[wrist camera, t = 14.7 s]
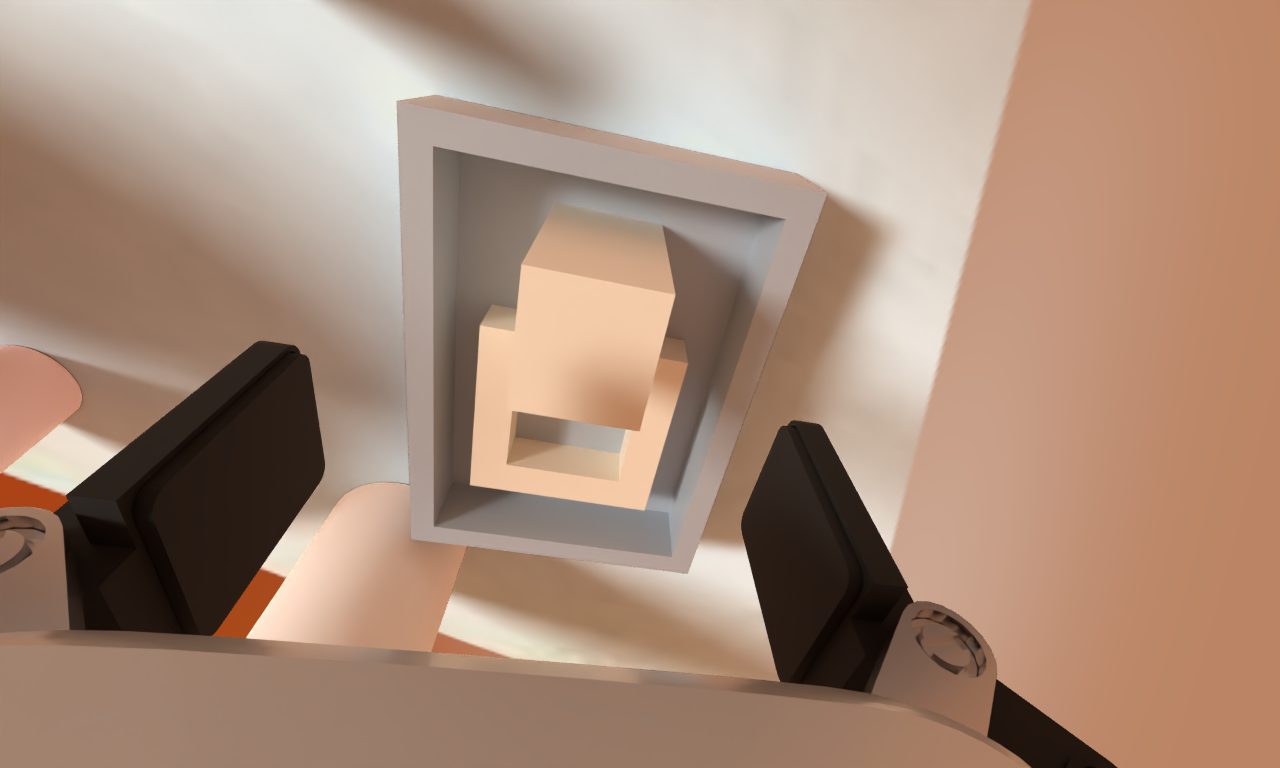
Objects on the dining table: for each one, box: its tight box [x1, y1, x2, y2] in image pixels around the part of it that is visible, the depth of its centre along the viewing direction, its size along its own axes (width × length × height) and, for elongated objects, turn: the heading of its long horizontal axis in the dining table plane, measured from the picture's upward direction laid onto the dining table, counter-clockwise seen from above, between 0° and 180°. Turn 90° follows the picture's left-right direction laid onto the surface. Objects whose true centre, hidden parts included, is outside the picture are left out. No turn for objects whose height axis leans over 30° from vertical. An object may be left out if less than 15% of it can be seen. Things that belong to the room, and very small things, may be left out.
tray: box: [397, 95, 827, 574], centre depth 22 cm, size 18×13×4 cm
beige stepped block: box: [470, 202, 688, 511], centre depth 20 cm, size 8×12×7 cm, turn 168°
